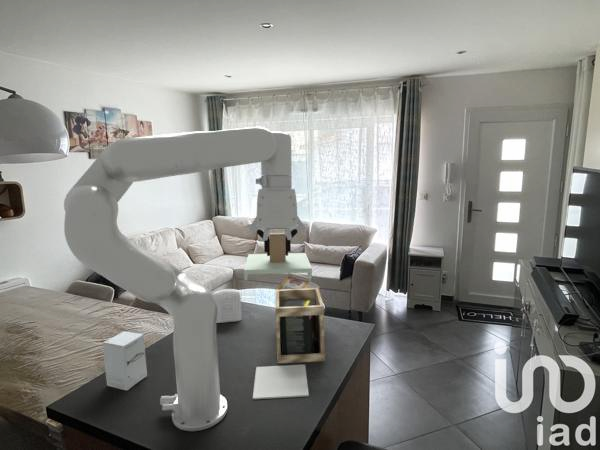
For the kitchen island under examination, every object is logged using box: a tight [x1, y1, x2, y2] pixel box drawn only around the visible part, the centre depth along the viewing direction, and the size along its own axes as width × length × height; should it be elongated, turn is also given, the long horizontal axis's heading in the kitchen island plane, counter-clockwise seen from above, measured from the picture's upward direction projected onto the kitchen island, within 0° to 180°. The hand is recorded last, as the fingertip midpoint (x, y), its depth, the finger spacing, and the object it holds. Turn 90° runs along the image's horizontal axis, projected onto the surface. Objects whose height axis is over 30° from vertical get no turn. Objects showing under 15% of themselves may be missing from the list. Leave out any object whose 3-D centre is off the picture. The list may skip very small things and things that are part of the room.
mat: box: [252, 364, 310, 400], centre depth 96 cm, size 14×14×1 cm
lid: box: [243, 232, 313, 281], centre depth 92 cm, size 16×17×10 cm
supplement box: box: [101, 331, 148, 391], centre depth 97 cm, size 7×7×13 cm
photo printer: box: [213, 288, 242, 324], centre depth 135 cm, size 10×4×12 cm, turn 102°
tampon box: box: [281, 299, 317, 355], centre depth 112 cm, size 11×9×15 cm
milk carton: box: [277, 273, 321, 293], centre depth 129 cm, size 10×11×19 cm
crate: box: [274, 288, 326, 364], centre depth 112 cm, size 14×16×17 cm
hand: (277, 254), depth 92 cm, fingers closed on lid, 4 cm apart
